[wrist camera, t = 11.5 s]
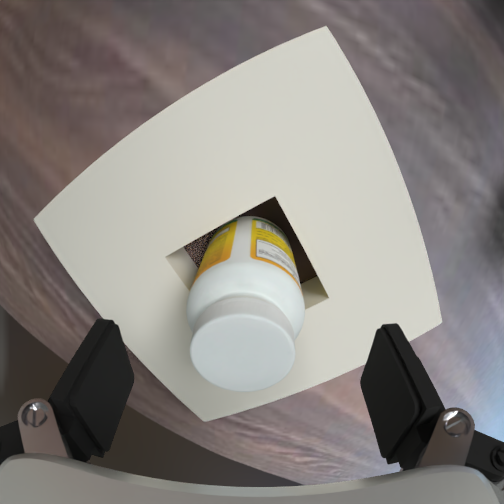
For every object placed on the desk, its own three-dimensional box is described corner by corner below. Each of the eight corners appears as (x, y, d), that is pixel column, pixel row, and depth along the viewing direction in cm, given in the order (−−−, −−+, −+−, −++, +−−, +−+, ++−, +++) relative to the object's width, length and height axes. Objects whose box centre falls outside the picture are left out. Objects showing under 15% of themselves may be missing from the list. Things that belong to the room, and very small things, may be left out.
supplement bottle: (290, 211, 19) (320, 292, 10) (291, 288, 21) (312, 398, 12) (202, 217, 19) (157, 300, 10) (212, 292, 21) (187, 402, 12)
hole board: (315, 40, 14) (326, 25, 12) (425, 301, 21) (442, 322, 18) (57, 206, 18) (33, 219, 16) (208, 396, 25) (204, 421, 22)
